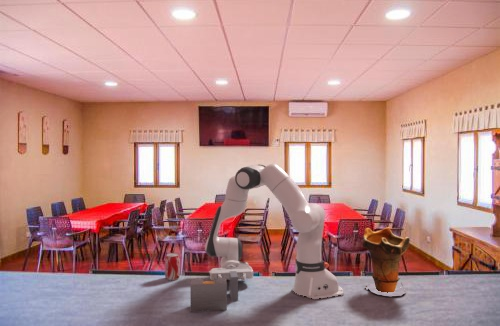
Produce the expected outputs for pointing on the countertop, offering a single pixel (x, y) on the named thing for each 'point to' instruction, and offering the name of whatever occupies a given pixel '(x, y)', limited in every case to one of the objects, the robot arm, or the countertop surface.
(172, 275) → the soda can
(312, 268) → the robot arm
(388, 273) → the decorative vase
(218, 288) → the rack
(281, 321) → the countertop surface
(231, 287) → the grey block
